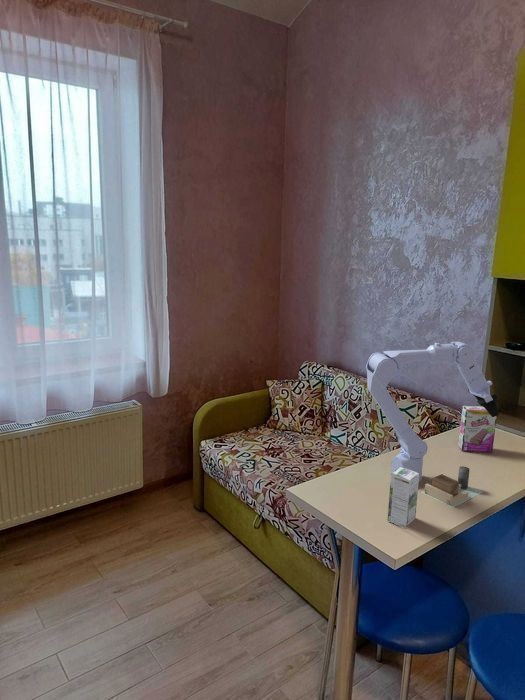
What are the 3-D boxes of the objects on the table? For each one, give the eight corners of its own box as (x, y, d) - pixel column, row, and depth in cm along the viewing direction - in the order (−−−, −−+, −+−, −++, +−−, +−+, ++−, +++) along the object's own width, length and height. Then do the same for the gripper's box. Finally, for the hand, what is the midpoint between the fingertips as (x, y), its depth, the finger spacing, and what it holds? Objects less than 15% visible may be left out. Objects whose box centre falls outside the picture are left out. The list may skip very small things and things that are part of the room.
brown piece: (448, 501, 143) (450, 482, 142) (431, 493, 148) (432, 474, 147) (474, 489, 150) (476, 470, 149) (456, 481, 155) (458, 463, 154)
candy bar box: (461, 452, 180) (465, 409, 176) (457, 446, 185) (461, 405, 181) (493, 453, 179) (497, 410, 175) (488, 447, 184) (492, 406, 180)
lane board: (452, 510, 140) (453, 498, 139) (420, 494, 149) (421, 483, 148) (483, 494, 149) (484, 482, 148) (451, 480, 158) (452, 469, 157)
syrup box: (396, 513, 139) (399, 466, 136) (416, 520, 135) (419, 472, 132) (386, 521, 135) (389, 473, 132) (407, 529, 131) (410, 479, 128)
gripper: (494, 378, 145) (512, 414, 149) (477, 362, 159) (494, 395, 162) (471, 389, 147) (490, 424, 150) (456, 372, 161) (474, 405, 164)
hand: (490, 410), depth 156 cm, fingers open, 7 cm apart
